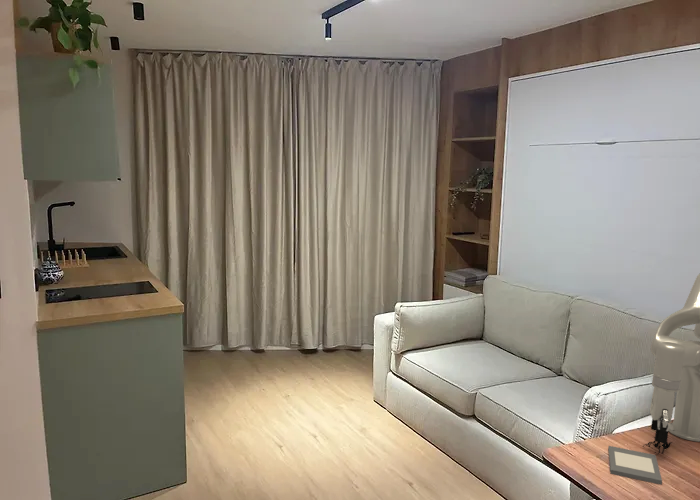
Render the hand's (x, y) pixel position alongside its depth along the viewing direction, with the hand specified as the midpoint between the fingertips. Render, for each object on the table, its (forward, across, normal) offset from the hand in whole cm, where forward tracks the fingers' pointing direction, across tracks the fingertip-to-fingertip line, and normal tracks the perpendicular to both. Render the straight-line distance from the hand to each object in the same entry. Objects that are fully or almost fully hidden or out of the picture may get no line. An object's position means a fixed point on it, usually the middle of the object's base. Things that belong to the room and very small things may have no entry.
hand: (658, 436), depth 175 cm
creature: (+6, -1, 0) cm, 6 cm away
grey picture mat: (+6, +13, -7) cm, 16 cm away
